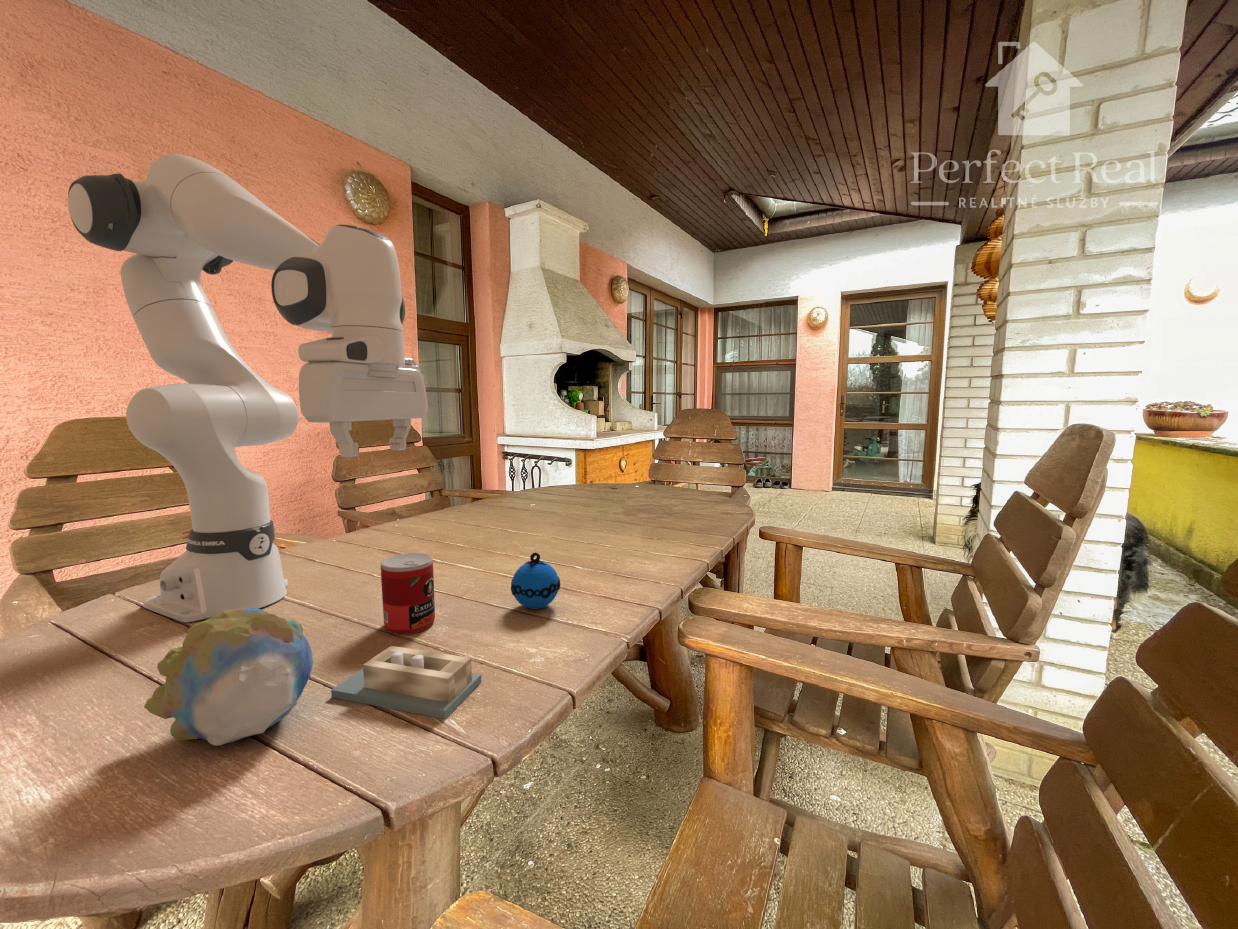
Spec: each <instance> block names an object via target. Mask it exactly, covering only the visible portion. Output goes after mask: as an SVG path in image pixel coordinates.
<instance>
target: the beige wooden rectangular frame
mask: <svg viewBox="0 0 1238 929" xmlns="http://www.w3.org/2000/svg"><path fill="white" fill-rule="evenodd" d="M395 652H403V665H398V664H392V663H391V654H392V653H395ZM415 655H423V660H424V669H423V668H417V667H412V662H411V658H412V657H413V656H415ZM362 668H363V674H364V687H365V688H370V689H376V690H381V691H387V692H392V693H398V694H404V695H409V696H415V697H420V698H426V699H432V700H437V701H443V702H448V703H449V702H450V701H451V700H452V699H453V698H454V697H455V696H456V695H457V694H458V693H459V692H460V691H461V690H462V689H463V688H465V687H466V686H467V685H468V684H469V683H470V682H471V681H472V673H473V670H472V669H473V667H472V658H471V657H467V656H461V655H453V654H447V653H441V652H435V651H434V652H433V651H428V650H421V649H414V648H407V647H401V646H394V645H393V646H392V645H390V646H388V647H387V648H386V649H384V650H383V651H381V652H379V653H378V654H376V655H375V656H374V657H372V658H371V659H369V660H367V661H366V662H365V663H363V664H362Z"/></svg>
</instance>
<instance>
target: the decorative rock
mask: <svg viewBox="0 0 1238 929" xmlns="http://www.w3.org/2000/svg"><path fill="white" fill-rule="evenodd" d="M313 655H314V654H313V650H312V648H311V644H310V642H309V640H308V639H307V638H306V637H305V635H304V628H303V625H302V623H300V622H298V621H297V620H295V619H292V618H291V619H286V618H284V617H279V616H277V615H276V614H273V613H268V612H267V611H265V610H263V609H261V608H255V607H247V608H238V609H232V610H227V611H224V612H222V613H219V614H217V615H215V616H213V617H210V618H207V619H206V620H205V619H204V621H199V622H197V623H194V624H192V625H191V626H190V627H188V629H187V632H186V635H185V638H184V639H183V642H182V646H179V647H173V648H170V649H169V651H168V652H167V653H166V655H165V656H164V658H163V659H162V660H160V661H159V662H158V663H157V666H156V668H157V670H158V673H159V675H160V676H163V677H165V683H164V684H162V685H160V686H158V687H156V688H155V690H154V692H153V693H152V695H151V697H150V698H148V699H146V702H145V704H144V706H143V708H145V709H146V711H148V713H149V714H151V715H154V716H155V717H159V718H161V719H164V720H166V719H167V720H168V719H172V718H174V719H175V720H174V721H173V722H172V724H171V725H170V729H169V733H170V735H171V737H173V738H175V739H177V740H179V741H181V740H186V741H189V740H198V739H202V740H204V741H207V742H208V743H209V744H210V745H212V746H215V747H216V746H222V745H225V744H227V743H233V742H236V741H238V740H241V739H245V738H248V737H251V736H255V735H261V734H263V733H264V734H265V732H266V730H267V729H269V728H270V727H272V726H273V725H275V724H276V723H278V722H279V721H281V720H282V719H284V718H285V717H287V715H289V714H290V713H291V711H292V710H293V708H294V707H295V706H297V702H298V700H299V698H300V697H301V695H302V693H303V692H304V689H305V687H306V685H307V683H308V681H309V680H310V677H311V674H312V669H313V665H314V657H313Z"/></svg>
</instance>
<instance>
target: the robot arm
mask: <svg viewBox="0 0 1238 929" xmlns="http://www.w3.org/2000/svg"><path fill="white" fill-rule="evenodd" d="M67 208H68V209H67V210H68V213H69V215H70V219H71V222H72V224H73V227H74V228H75V230H76V231H77V232H78V233H79V234H80V235H81V236H82V237H83V239H85V240H86V241H87V242H89V243H90V244H93V245H95V246H97V247H101V248H105V249H108V250H112V251H114V252H122V251H123V252H124V251H125V252H127V253H131V254H132V253H133V254H134V255H131V256H130V257H128V258H126V260H124V262H122V264H121V266H120V271H119V272H120V278H121V284H122V289H123V294H124V296H125V300H126V304H127V307H128V309H129V312H130V314H131V316H132V319H133V321H134V324H135V325H136V327H137V330H138V331H139V334H140V336H141V337H142V340H143V343H144V344H145V347H146V348H147V349H146V350H147V351H148V353H149V355H150V357H151V359H152V360H153V362H154V363H155V364H156V366H158V367H159V368H160V369H162V370H163V371H164V372H167V373H169V374H170V375H173V376H175V377H176V378H177V377H178V378H180V379H181V380H183V381H184V382H186V383H171V384H164V385H156V386H151V387H145V388H142V389H140V390H139V391H137V392H136V393H135V394H134V395H133V396H132V397H131V399H130V401H129V402H128V405H127V408H126V413H125V417H126V424H127V427H128V429H129V431H130V433H131V434H132V435H133V436H134V438H135V439H136V440H137V441H138V442H139V443H141V445H144V446H145V447H147V448H148V449H150V450H153V451H155V452H157V453H158V454H159V455H161V456H162V457H163V458H165V459H166V460H167V461H168V462H169V463H170V464H171V465H172V466H173V467H174V469H175V470H176V472H177V473H178V475H179V476H180V477H181V479H182V482H183V484H184V486H185V489H186V494H187V495H186V496H187V499H188V503H189V504H188V505H189V512H190V518H191V519H190V520H191V529H190V530H189V531H184V532H182V533H181V534H182V535H185V536H183V537H182V540H185V539H186V540H187V541H186V545H185V551H184V552H183V553H181V555H179V556H178V557H177V558H176V559H175V560H174V561H173V562H171V563H170V564H169V565H168V566H166V567H165V568H164V569H163V570H162V571H161V573H160V577H159V589H160V592H159V593H158V594H155V595H153V596H151V597H149V598H147V599H146V600H144V601H143V604H142V608H144V609H147V610H149V611H151V612H153V613H154V612H155V613H156V614H160V615H161V616H162V615H163V616H165V617H168V618H171V619H173V620H176V621H179V622H181V623H191V622H197V621H201V620H205V619H206V620H207V619H209V618H212V617H213V616H215V615H217V614H219V613H222V612H224V611H227V610H232V609H238V608H247V607H255V608H258V609H261V608H264V607H267V606H269V605H272V604H274V603H276V602H278V601H280V600H282V599H283V598H284V597H285V596H286V595H287V594H288V590H287V588H286V587H288V585H289V579H288V578H287V577H286V578H285V577H284V573H283V566H282V562H281V557H280V553H279V548H278V546H277V545H276V544H275V543H274V541H275V539H276V534H275V532H276V527H275V525H274V521H273V520H272V519H271V512H270V511H271V510H270V500H269V489H268V483H267V481H266V479H265V477H263V475H261V474H260V473H257V472H256V471H253V470H251V469H249V468H245V467H244V466H243V464H242V463H241V462H240V460H239V458H238V456H237V453H236V448H240V447H242V448H243V447H252V446H263V445H264V446H265V445H268V444H272V443H275V442H279V441H281V440H284V439H286V438H290V436H292V435H293V433H295V431H297V430H296V429H297V427H298V424H299V419H300V418H299V409H300V412H301V415H302V416H303V418H304V419H305V420H306V422H308V423H318V424H320V423H321V424H324V423H326V424H328V423H329V431H330V433H331V434H332V437H333V438H334V439H335V441H336V443H337V444H338V450H339V452H338V453H339V456H340V457H341V458H353V457H357V456H359V455H360V451H359V448H360V447H359V442H354V440H353V438H352V436H351V434H350V431H352V430H353V428H352V422H365V421H388V420H392V426H393V427H395V428H394V433H393V436H392V437H389V449H390V450H391V451H404V450H406V449H407V437H408V435H409V433H410V430H411V427H412V419H425V417H426V416H427V413H428V411H429V409H428V406H429V405H428V398H427V391H426V384H425V379H424V376H423V374H422V373H421V367H420V366H419V364H417V363H416V361H415V359H413V358H411V357H406V355H405V354H406V353H405V337H404V335H405V334H404V327H403V324H404V322H405V319H406V318H405V316H406V306H405V305H406V304H405V300H404V297H403V293H402V291H403V290H402V280H401V270H400V262H399V258H398V253H397V250H396V247H395V246H394V244H393V242H392V241H391V240H390V239H389V238H388V237H386V236H385V235H383V234H381V233H378V232H376V231H373V230H370V229H368V228H363V227H359V226H355V225H351V224H336V225H333V226H331V227H330V228H329V229H328V231H327V232H326V233H327V234H326V235H325V237H324V240H322V242H321V243H319V242H317V241H315V240H314V239H313V238H311V237H310V236H308V235H307V234H305V233H304V232H303V231H301V230H300V229H298V227H296V226H295V225H293V224H292V223H291V222H289V221H288V220H286V219H285V218H284V217H282V216H281V215H279V214H278V213H277V212H276V211H274V210H273V209H271V207H269V206H267V205H266V204H265V203H264V202H263V201H262V200H260V199H259V198H257V197H256V196H255V195H254V194H252V193H251V192H250V191H249V190H247V189H246V188H245V187H243V186H242V185H241V184H239V183H238V182H237V181H236V180H234V179H233V178H231V177H230V175H228V174H226V173H224V172H222V170H219V169H218V168H216V167H214V166H212V165H210V164H208V163H207V162H204V161H202V160H200V159H197V158H195V157H193V156H190V155H185V154H181V153H168V154H165V155H161V156H160V157H158V158H157V159H155V160H153V161H152V163H151V165H150V166H149V168H148V171H147V175H146V179H145V180H143V181H138V180H134V179H133V180H132V179H130V178H126V177H125V176H124V175H123V174H122V173H112V174H111V173H110V174H108V175H107V174H106V175H105V174H91V175H89V174H88V175H83V176H81V177H79V178H77V179H75V180H73V182H71V183H70V185H69V188H68V193H67ZM233 262H237V263H240V264H245V265H250V266H253V267H258V268H262V269H266V270H269V271H270V270H271V271H274V272H273V273H272V277H271V284H270V285H271V288H270V289H271V296H272V300H273V303H274V306H275V308H276V310H277V311H278V313H279V314H280V315H281V317H282V318H283V319H284V320H285V321H286V322H287V323H289V324H290V325H292V326H296V327H299V328H302V329H306V330H312V331H318V332H326V333H329V334H331V336H329V337H324V338H320V339H316V340H313V341H308V342H305V343H304V342H303V343H301V344H300V345H298V348H297V349H298V350H297V351H298V352H297V353H298V358H299V359H300V361H301V362H304V364H303V365H302V366H301V368H300V370H299V374H298V395H299V407H300V408H299V409H298V407H297V405H296V403H295V400H293V398H292V397H291V396H290V395H289V394H288V393H287V392H284V391H282V390H281V389H279V388H277V387H276V386H275V387H274V386H273V385H271V384H270V383H269V382H268V381H265V379H264V378H263V377H261V376H260V375H259V374H258V373H257V372H256V371H255V370H253V369H252V368H251V366H250V365H249V364H248V363H247V362H246V361H245V360H244V359H243V358H242V357H241V356H240V355H239V353H238V352H237V351H236V349H235V348H234V347H233V345H232V343H231V342H230V339H229V337H228V336H227V335H226V334H227V333H226V332H225V330H224V328H223V326H222V325H221V322H220V320H219V318H218V315H217V314H216V312H215V310H214V308H213V305H212V304H211V302H210V299H209V297H208V296H207V294H206V292H205V290H204V288H203V286H202V281H201V275H202V274H201V273H202V271H203V272H205V273H206V274H208V275H217V274H220V273H221V271H222V269H223V268H225V267H227V266H229V265H231V264H232V263H233ZM186 534H188V535H186Z"/></svg>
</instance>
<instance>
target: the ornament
mask: <svg viewBox="0 0 1238 929" xmlns="http://www.w3.org/2000/svg"><path fill="white" fill-rule="evenodd" d="M529 559H530V560H528V561H526V562H524V563H523V564H521V565H520V567H518V569H517V570H515V572H514V574H513V577H512V579H511V582H510V591H511V595H512V596H513V597H514V598H515V600H516V601H517V602H518V603H519V604H520V605H521V606H523V607H524V608H528V609H531V610H536V609H537V610H538V609H539V610H540V609H542V608H544V607H547V606H548V605H550V604H551V603H552V602H553V601H554V600H555V598H556V596H557V595H558V593H559V591H560V589H561V579H560V577H559V575H558V573H557V571H556V570H555V568H554V567H553V566H552V565H551V564H549V563H547V562H545V561H542V560H541V555H540V554H539V553H538V552H533V553H531V554H530V557H529Z"/></svg>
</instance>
